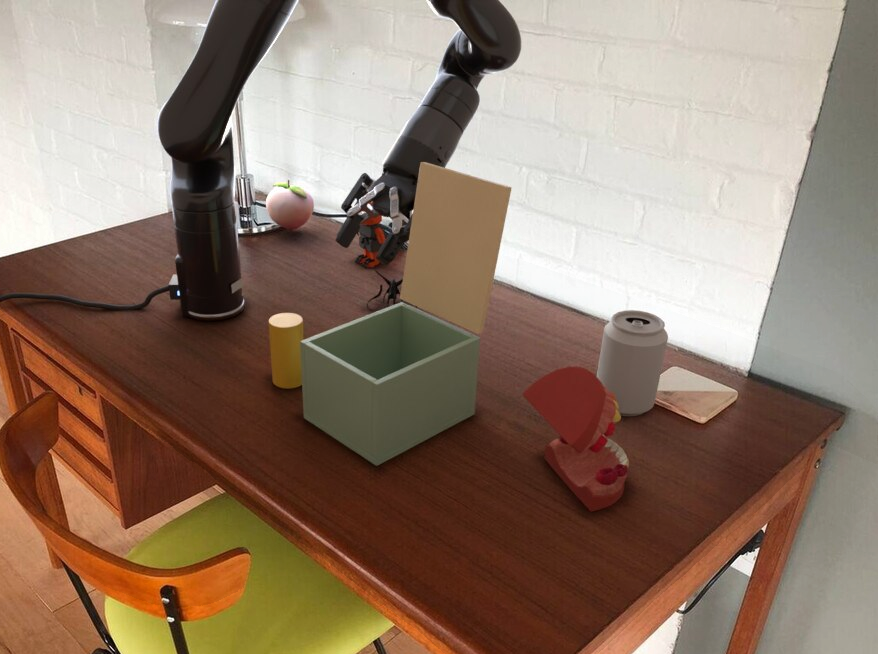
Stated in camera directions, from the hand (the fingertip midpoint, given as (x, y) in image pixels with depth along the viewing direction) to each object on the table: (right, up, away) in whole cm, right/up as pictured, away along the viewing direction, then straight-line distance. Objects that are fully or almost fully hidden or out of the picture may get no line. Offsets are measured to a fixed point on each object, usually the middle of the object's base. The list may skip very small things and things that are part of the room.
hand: (360, 253), depth 111 cm
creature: (+5, -5, +20) cm, 22 cm away
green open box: (+4, -22, -7) cm, 23 cm away
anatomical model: (+24, -28, -19) cm, 42 cm away
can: (+34, -20, -5) cm, 40 cm away
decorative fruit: (-14, +12, +50) cm, 53 cm away
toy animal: (0, +4, +36) cm, 36 cm away
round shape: (-10, -13, -2) cm, 16 cm away
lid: (+11, -1, -12) cm, 16 cm away
